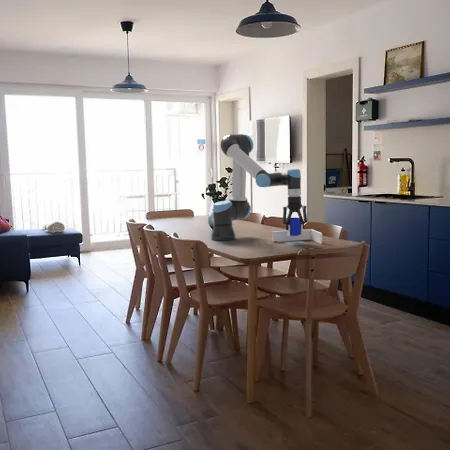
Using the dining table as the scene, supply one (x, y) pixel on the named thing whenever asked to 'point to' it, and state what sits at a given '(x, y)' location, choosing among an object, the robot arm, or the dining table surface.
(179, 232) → the dining table surface
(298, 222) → the mug
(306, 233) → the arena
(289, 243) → the mat
